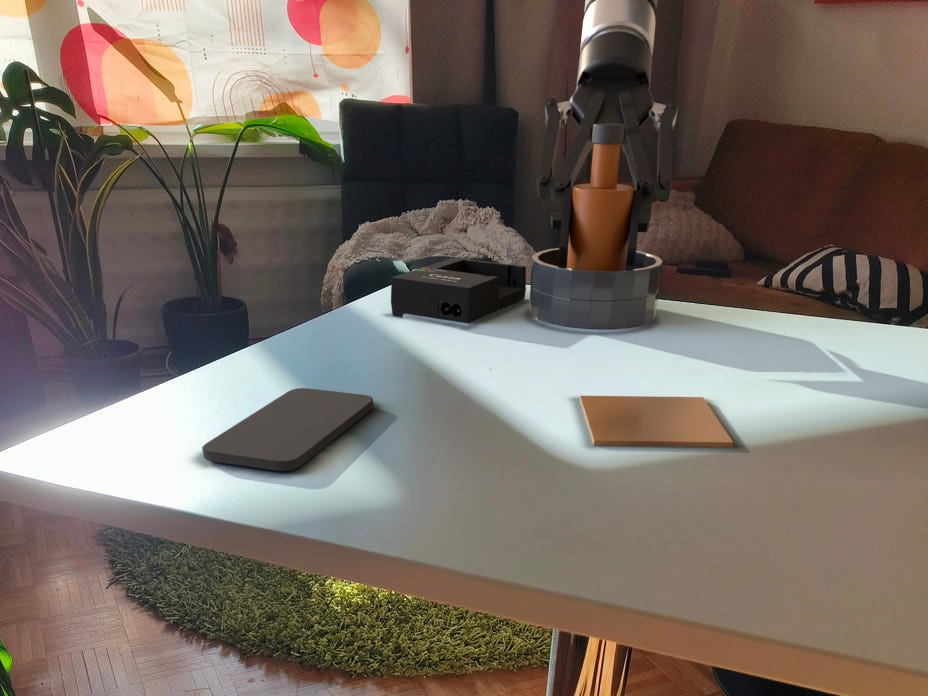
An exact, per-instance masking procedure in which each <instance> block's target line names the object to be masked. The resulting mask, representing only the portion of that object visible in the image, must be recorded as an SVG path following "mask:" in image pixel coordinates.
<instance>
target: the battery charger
mask: <svg viewBox="0 0 928 696" xmlns="http://www.w3.org/2000/svg"><path fill="white" fill-rule="evenodd" d="M390 283H391V284H390V287H391V288H390V307H391V314H392V317H398V318H403V317H404V314H405V315H412V316H418V317H424V318H431V319H436V320H443V321H450V322H456V323H462V324H471V323H474V322H476V321H479V320H480V319H482V318H485V317H487V316H489V315H492V314H493V313H494V314H495V313H496V312H498V311H500V310H503V309H505V308H507V307H510V306H512V305H514V304H517V303H519V302H521V301H523V300H525V299H526V293H527V267H526V265H517V264H509V263H500V262H493V261H484V260H476V259H467V258H462V257H461V258H459V257H450V258H448V259H445V260H442V261H439V262H436V263H432V264H429V265H426V266H423V267H420V268H416V269H414V270H410V271H407V272H405V273H402V274H399V275H395V276H392V277H391V281H390Z"/></svg>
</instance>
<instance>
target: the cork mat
mask: <svg viewBox="0 0 928 696" xmlns="http://www.w3.org/2000/svg"><path fill="white" fill-rule="evenodd" d="M579 403H580V406H581V410H582V413H583V416H584V420H585V423H586V426H587V429H588V433H589V436H590V440H591V442H592V446H594V447H651V448H652V447H661V448H665V447H667V448H729V449H730V448H733V447H734V441H733V440H732V438H731V437H730V435H729V434H728V432H727V430H726V429H725V428H724V426H723V425H722V423H721V421H720V420H719V419H718V417H717V415H716V414H715V413H714V411H713V410H712V408H711V406H710V405H709V404H708V402H707V400H706V399H705V397H703V396H645V395H642V396H641V395H639V396H638V395H636V396H635V395H580V396H579Z"/></svg>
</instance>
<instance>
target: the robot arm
mask: <svg viewBox="0 0 928 696" xmlns="http://www.w3.org/2000/svg"><path fill="white" fill-rule="evenodd" d="M658 2H659V0H585V2H584V12H583V20H582V30H581V38H580V39H581V40H580V50H579V59H578V67H577V69H578V70H577V76H576V77H577V78H576V87H575V90H574V92H573V94H572V95H571V97H570V99H569V100H566V101H562V102H558V101H557V99H556V98H554V97H549V98H547V99H546V100H545V102H544V123H545V132H544V138H543V143H542V148H541V154H540V158H539V165H538V170H537V175H536V176H537V177H536V191H537V192H536V193H537V194H536V195H537V197H538V198H540V199H541V200H542V199H546V198H548V199H550V200H551V201H552V203H551V213H550V226H551V229H552V230H560V234H559V244H558V248H559V263H566V261H567V252H568V245H569V232H570V219H571V205H572V192H573V186H574V185H575V182H576V180H577V178H578V177H579V176H578V175H579V174H580V171H581V170H582V168H583V165H584V163H585V161H586V159H587V156H588V154H589V153H591V151H592V150H593V146H594V143H592V133H593V124H596V123H618V124H624V125H625V129H624V139H623V143H622V144H621V148H622V151H623V154H625V157H626V161H627V164H628V165H627V166H628V168H629V172H630V177H631V180H632V183H633V186H634V187H633V188H634V192H633V201H632V211H631V220H630V229H629V239H628V248H627V249H628V250H627V262H626V266H634V261H635V254H636V251H637V247H638V234H639V233H648V231H649V229H650V225H651V218H652V209H653V208H652V206H653V204H654V203H655V202H660V203H666V202H668V201H669V200H670V197H671V196H670V195H671V190H672V187H673V177H674V176H673V173H674V170H673V169H674V168H673V167H674V166H673V165H674V161H673V158H674V157H673V156H674V155H673V154H674V153H673V152H674V151H673V148H674V147H673V141H674V139H673V138H674V136H673V135H674V134H673V133H674V132H673V131H674V129H675V126H676V121H677V117H678V111H679V106H680V103H679V102H678V100H676V99H669V100H668V101H667V102H666V104H664V103H659V102H655V100H654V97H653V95H652V93H651V91H650V90H651V79H652V67H653V53H654V45H655V34H656V33H655V32H656V23H657V7H658ZM569 117H571V118H572V119H573V121H574V122H575V123H576V124H577V126H578V127H579V128H578V131H577V133H576V136H575V138H574V140H573V142H572V144H571V146H570V149H569V150H568V153H567V155H566V157H565V159H564V160H563V162H562V165H561V167H560V170H559V172H558V174H557V176H556V178H554V177H553V173H554V169H555V163H556V158H557V152H558V147H559V142H560V130H562V129H563V128H564V126H565V125H566V124H567V120H568V118H569ZM649 118H651V119H652V120H653V127H654V128H655V131H656V132H658V135H657V147H656V148H657V151H656V152H657V158H656V159H657V161H656V162H657V164H656V167H657V168H656V169H657V171H656V172H657V173H656V175H657V176H656V177H657V179H656V180H655V178H653V177H652V173H651V169H650V165H649V163H648V160H647V156H646V152H645V150H644V145H643V142H642V138H641V133H640V128H641V127H642V126H643V125H644V123H645V122H647V121H648V120H649Z"/></svg>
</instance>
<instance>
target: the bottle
mask: <svg viewBox="0 0 928 696" xmlns="http://www.w3.org/2000/svg"><path fill="white" fill-rule="evenodd" d="M624 129H625V125H624V124H618V123H596V124H593V133H592V143H594V145H593V147H592V159H591V169H590V170H591V171H590V172H591V173H590V183H579V184H573V186H572V188H573V192H572V205H571V219H570V232H569V242H568V258H567V268H571V269H580V270H593V271H618V270H625V267H626V257H627V249H628V239H629V229H630V220H631V211H632V201H633V192H634V190H635V187H633V186H631V185H627V184H621V183H620V184H619V183H618V178H619V167H620V156H621V148H622V145H621V144H622V143H623V139H624Z"/></svg>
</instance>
